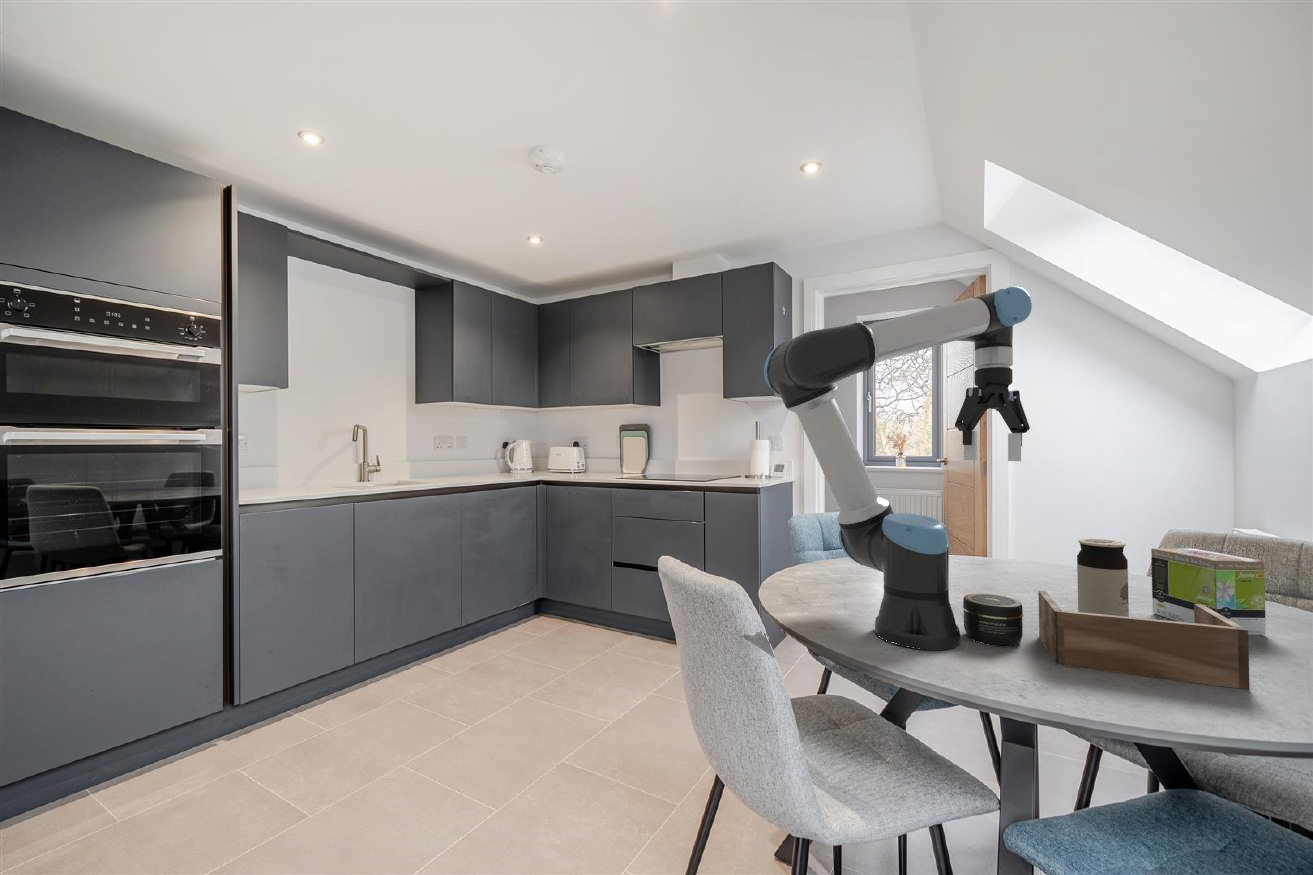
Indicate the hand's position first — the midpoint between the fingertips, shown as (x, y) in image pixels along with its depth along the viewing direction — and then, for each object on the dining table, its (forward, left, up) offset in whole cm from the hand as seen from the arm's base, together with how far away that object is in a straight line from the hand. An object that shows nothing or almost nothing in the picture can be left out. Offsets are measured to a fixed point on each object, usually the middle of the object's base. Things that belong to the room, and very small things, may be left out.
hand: (992, 460), depth 128 cm
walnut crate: (-5, -30, -34) cm, 45 cm away
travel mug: (+7, -18, -34) cm, 39 cm away
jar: (-18, -14, -34) cm, 41 cm away
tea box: (+31, -23, -34) cm, 52 cm away
